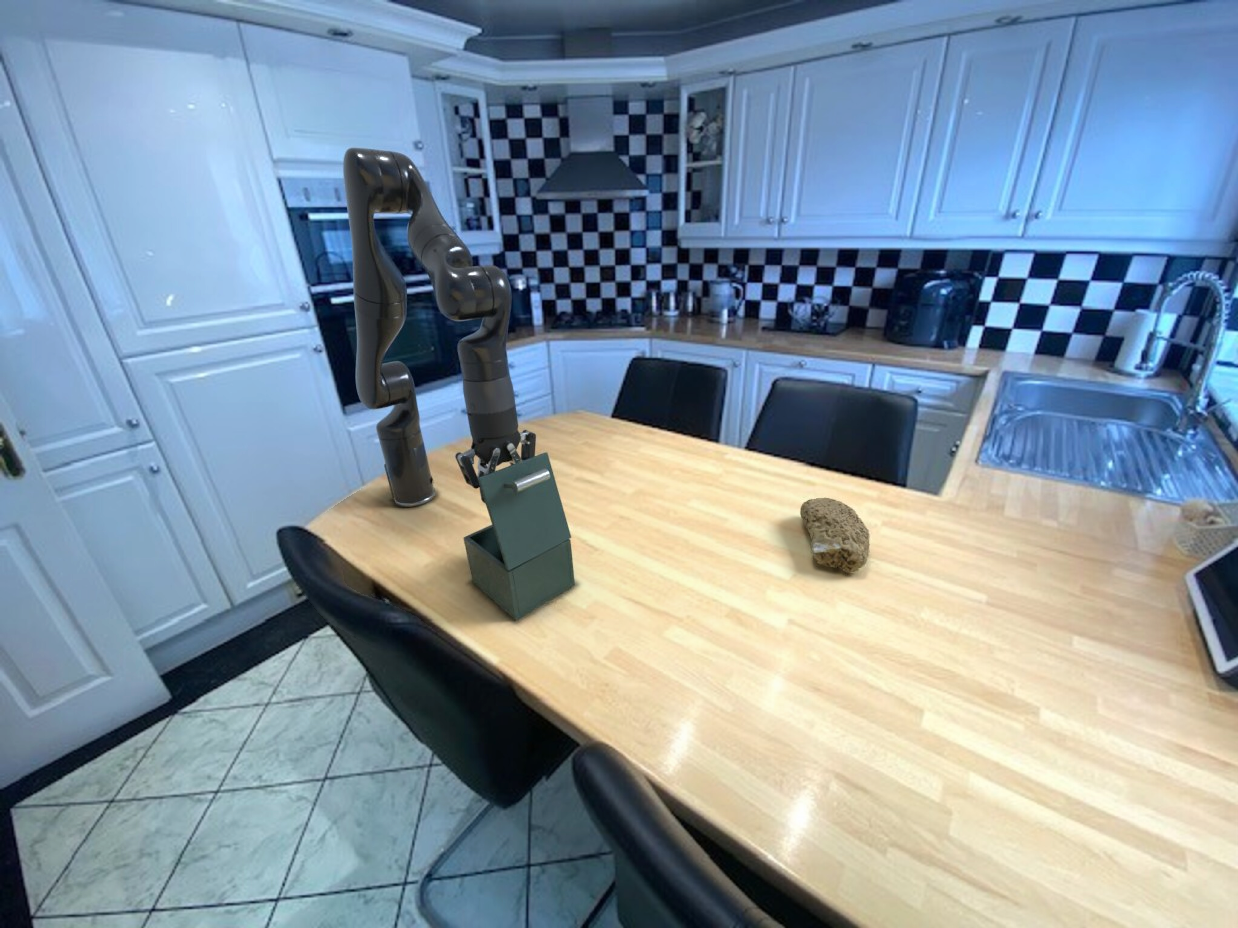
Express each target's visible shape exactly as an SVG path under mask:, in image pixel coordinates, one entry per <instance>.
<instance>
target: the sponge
mask: <svg viewBox="0 0 1238 928" xmlns="http://www.w3.org/2000/svg"><path fill="white" fill-rule="evenodd" d="M799 515H800V518H801V520H802V522H803V525H804V527H805V528H806V530H807V532H808V534H809V536H810V539H811V543H810V552H811V554H812V556H813V558H814V559H815V560H816V561H817V563H818V564H820V565H823V566H826V567H829V568H835V569H836V568H839V569H840V570H842V571H843V572H845V573H847V574H854V573H856V572H858V571H860V569H861V568H863V567H864V566H865V565H866V563H867V561H868V558H869V553H870V547H871V544H870V530H869V529H868V528H867V526H866V525H865V523H864V522H863V520H862V518H861V517H859V514H857V511H856V510H855V509H854V508H852V507H850V506H849V505H848V504H846V503H844V502H842V501H840V500H837V499H834V498H830V497H817V498H810V499H807V500H806V501H804V502H802V504H801V505H800V510H799Z"/></svg>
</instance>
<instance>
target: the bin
mask: <svg viewBox="0 0 1238 928" xmlns="http://www.w3.org/2000/svg"><path fill="white" fill-rule="evenodd" d="M462 539H463V542H464V543H463V544H464V547H465V552H466V558H467V563H468V567H469V573H470V577H471V581H472V583H473V584H474V585H475V586H477V587H478V588H479V589H480V590H481V591H482V592H483V593H484V594H486V595H487V596H488V597H489V598H490V599H491V600H492V601H493V602H494V603H495V604H497V606H499V607H500V608H501V609H502V610H503V611H504V612H506V613H507V614H508V615H509V616H510V617H511V618H512V619H513V620H515V621H518V620H520V619H521V618H522V617H525V616H526V615H527V614H528V615H529V613H531V612H533V611H534V610H536V609H537V608H539V607H540V606H542V605H544V604H546V603H548V602H549V601H551V600H552V599H554V598H556V597H558V596H559V595H561V594H563V593H564V592H566V591H568V590H569V589H570V588H572V587H574V586H575V585H576V582H575V581H576V580H575V572H574V571H575V570H574V561H573V551H572V542H571V538H570V539H568V540H566V541H564V542H562V543H560V544H558V545H556V546H555V547H553V548H551V549H549V550H547V551H545V552H543V553H541V554H539V555H537V556H536V557H534V558H532V559H530V560H528V561H526V562H524V563H522V564H520V565H519V566H517V567H515V568H513V569H511V570H507V569H506V566H505V563H504V560H503V557H502V554H501V551H500V547H499V544H498V541H497V538H496V535H495V532H494V529H493V525H492V524H490V525H487V526H485V527H483V528H481V529H479V530H477V531H474V532H472V533H470V534H468V535H466V536H464V537H463V538H462Z"/></svg>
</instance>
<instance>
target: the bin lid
mask: <svg viewBox="0 0 1238 928" xmlns="http://www.w3.org/2000/svg"><path fill="white" fill-rule="evenodd" d="M478 481H479V485H480V488H481V491H482V494H483V497H484V500H485V503H486V504H485V503H484V504H485V506H486V509H487V512H488V516H489V519H490V522H491V525H493V529H494V532H495V535H496V538H497V541H498V544H499V547H500V551H501V554H502V557H503V560H504V563H505V566H506V569H507V570H511V569H513V568H515V567H517V566H519V565H520V564H522V563H524V562H526V561H528V560H530V559H532V558H534V557H536V556H537V555H539V554H541V553H543V552H545V551H547V550H549V549H551V548H553V547H555V546H556V545H558V544H560V543H562V542H564V541H566V540H568V539H570V540H571V538H572V534H571V531H570V527H569V524H568V520H567V517H566V514H565V509H564V506H563V503H562V498H561V495H560V491H559V489H558V485H557V481H556V478H555V474H554V471H553V466H552V464H551V460H550V457H549V453H548V451H547V452H542V453H540V454H537V455H535V456H534V457H532V458H529V459H526V460H524V461H521V462H518V463H516V464H513V465H510V464H509V465H507V466H506V467H503V468H500V469H498V470H495V472H492V473H489V474H487V475H484V476H482V477H479V478H478Z"/></svg>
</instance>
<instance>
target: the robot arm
mask: <svg viewBox="0 0 1238 928" xmlns="http://www.w3.org/2000/svg"><path fill="white" fill-rule="evenodd" d="M343 155H344V156H343V161H342V175H343V176H342V177H343V178H342V179H343V185H344V194H345V195H344V196H345V201H346V209H347V216H348V224H349V232H350V240H351V252H352V282H353V283H352V285H353V286H352V287H353V288H352V289H353V304H354V314H355V315H354V316H355V325H356V326H355V327H356V360H355V386H356V392H357V395H358V398H359V400H360V402H361V404H363V406H364V407H365V408H367V409H369V410H373V411H374V410H381V409H385V408H389V407H392V409H391V410H390V411H389V413H388V414H387V415H386V416H384V417H383V418H381V419H380V420H379V421H378V422H377V424H376V426H375V430H376V435H377V437H378V442H379V446H380V448H381V452H382V456H383V459H384V465H383V467H384V471H385V475H386V479H387V483H388V487H389V489H390V493H391V497H392V500H393V501H394V503H395V505H397V506H398V507H402V508H412V507H417V506H422V505H424V504H427V503H428V502H430V501H432V500H433V499H434V498H435V496H436V494H437V493H436V490H435V487H434V484H435V482H434V479H433V475H432V473H431V469H430V464H429V460H428V455H427V451H426V445H425V442H424V437H423V433H422V429H421V424H420V423H421V422H420V421H421V418H420V412H419V407H418V400H417V393H416V387H415V383H414V378H413V376H412V373H411V371H410V369H409V368H408V366H407V365H406V364H405V363H404V362H402V361H399V360H393V361H389V362H384V358H385V355H386V353H387V351H388V349H389V348H390V346H391V345H392V343H394V340H395V339H396V337H397V336H398V335H399V333H400V331H401V330H402V328H403V326H404V325H405V321H406V318H407V314H408V313H407V312H408V311H407V310H408V309H407V308H408V289H407V288H408V287H407V283H406V281H405V278H404V276H403V274H402V273H401V271H400V270H399V268H398V267H397V265H396V264H395V262H394V261H393V260H392V258H391V257H390V255H389V254H388V252H387V251H386V250H385V247H384V246H383V244H382V243H381V241H380V239H379V237H378V235H377V232H376V227H375V220H374V217H375V214H396V215H397V214H399V215H401V214H408V215H410V217H409V220H408V223H407V227H406V240H407V244H408V246H409V249H410V251H411V253H412V254H413V256H414V258H415V259H416V260H417V261H418V263H419V264H420V265H421V267H422V268H423V269H424V271H425V272H426V274H427V275H428V278H429V281H430V284H431V286H432V290H433V295H434V299H435V303H436V306H437V308H438V310H439V312H440V313H441V314H442V315H443V316H444V317H446V318H447V319H450V320H451V321H455V322H466V321H472V320H478V319H482V320H481V323H480V326H479V328H478V329H477V330H476V331H474V332H473V333H470V334H469V335H466V336H464V337H463V338H461V339H460V340H459V341H458V343H457V355H458V360H459V365H460V366H459V367H460V371H461V377H462V391H463V398H464V399H463V400H464V403H465V408H466V415H467V421H468V426H469V427H468V428H469V432H470V436H471V438H472V442H471V445H470V448H469V449H467V450H466V451H464V452H457V453H455V456H454V457H455V460H456V463H457V464H458V467H459V469H460V471H461V474H462V476H463V478H464V481H465V483H466V484H467V485H469V486H470V487H472V488H474V489H479V494H480V500H481V502H482V503H484V504H485V505H486V503H485V500H484V497H483V494H482V491H481V488H480V485H479V481H478V478H479V477H482V476H484V475H487V474H489V473H492V472H495V471H497V470H496V469H497V467H499V466H500V465H502V464H504V463H509V466H510V465H513V464H516V463H518V462H521V461H524V460H526V459H529V458H532V457H534V456H536V444H537V443H536V442H537V435H536V433H535V432H532V431H530V430H527V429H523V430H522V432H520V431H519V420H518V413H517V405H516V398H515V397H516V396H515V390H514V385H513V382H512V381H513V380H512V377H511V373H510V366H509V358H508V352H507V342H508V333H509V332H508V331H509V324H510V317H511V310H512V299H513V295H512V294H513V293H512V287H511V283H510V280H509V279H508V277H507V275H506V274H505V272H504V271H503V270H502V269H501V268H500V267H499V266H496V265H494V264H493V265H491V264H483V265H475V266H473V265H474V260H473V256H472V253H471V251H470V249H469V248H468V247H467V245H466V244H465V242H463V240H462V238H460V237H459V235H458V234H457V233H456V232H455V230H453V228H452V227H451V226H450V224H449V223H448V222H447V220H446V219H445V218H444V216H443V215H442V213H441V211H440V208H439V207H438V205H437V203H436V200H435V199H434V197H433V195H432V193H431V191H430V189H429V186H428V185H427V183H426V182H425V180H424V178H423V176H422V174H421V173H420V170H419V169H418V167H417V166H416V164H415V163H414V162H413V160H412V159H411V158H410V157H409V156H407V155H406V154H404V153H401V152H397V151H394V150H393V151H392V150H383V149H374V148H366V147H365V148H364V147H349V148H348V149H346V151H345V153H344V154H343ZM383 362H384V363H383ZM520 444H521V445H520ZM519 445H520V453H519V452H518V451H517V449H518V447H519ZM475 456H476V457H477V458H478V462H477V470H478V471H477V472H476V471H475V467H474V464H475Z"/></svg>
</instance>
